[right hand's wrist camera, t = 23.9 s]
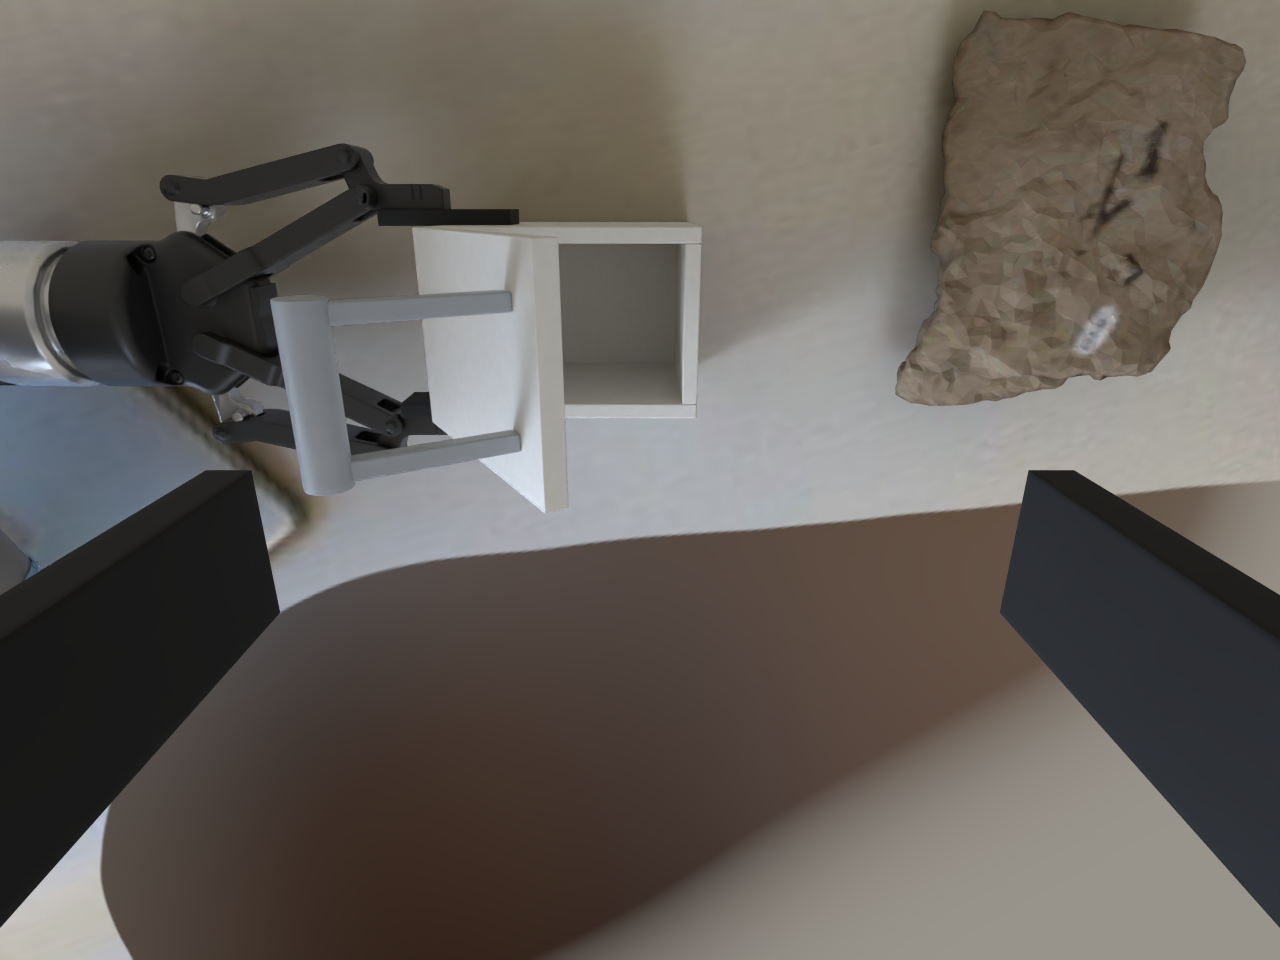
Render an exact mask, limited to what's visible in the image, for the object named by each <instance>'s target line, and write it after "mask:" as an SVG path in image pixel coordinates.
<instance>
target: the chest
mask: <svg viewBox="0 0 1280 960" xmlns="http://www.w3.org/2000/svg"><path fill="white" fill-rule="evenodd" d="M429 227H439V228H452V229H464V230H477V231H490V232H502V233H515V234H527V235H540V236H553V237H558V247H559V273H560V299H561V325H562V351H563V378H564V404H565V418H696V417H697V385H698V350H699V315H700V280H701V246H702V245H701V244H700V243H701V242H702V227H700V226H697V225H695V224H692V223H689V222H519V224H516V225H439V226H429Z"/></svg>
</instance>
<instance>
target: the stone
mask: <svg viewBox="0 0 1280 960" xmlns="http://www.w3.org/2000/svg"><path fill="white" fill-rule="evenodd" d="M1245 63H1246V60H1245V56H1244V52H1243V49H1242V48H1240V47H1239V46H1237V45H1236V44H1230V43H1227V42H1225V41H1223V40H1220V39H1218V38H1215V37H1210V36H1206V35H1202V34H1197V33H1192V32H1187V31H1182V30H1177V29H1167V30H1159V29H1154V28H1149V27H1144V26H1137V25H1124V26H1123V25H1119V24H1115V23H1111V22H1107V21H1104V20H1099V19H1094V18H1089V17H1084V16H1080V15H1077V14H1073V13H1070V12H1068V13H1065V14H1063V15H1061V16H1059V17H1057V18H1054V19H1046V18H1030V19H1002V18H1001V17H1000V16H999V15H998V14H997V13H995V12H990V11H984V12H983V13H982V15H981V17H980V19H979V20H978V23H977V25H976V27H975V29H974V30H973V31H972V32H971V33H970V34H969V35H968V36H967V37H966V38H965V39H964V40H963V41H962V43H961V45H960V46H959V50H958V53H957V55H956V57H955V60H954V66H953V81H952V83H953V92H954V96H955V105H954V106H953V107H952V109H951V110H950V112H949V115H948V120H947V123H946V126H945V128H944V131H943V134H942V151H943V155H944V158H945V164H944V186H945V189H946V191H945V193H944V195H943V197H942V199H941V215H940V217H939V219H938V222H937V226H936V229H935V231H934V234H933V236H932V238H931V251H932V252H933V253H935V254H936V255H938V256H939V257H940V260H941V263H942V264H941V266H940V268H939V270H938V285H937V288H936V293H937V295H938V300H937V301H936V303H935V309H934V312H933V313H932V315H931V316H930V317H929V318H928V319H926V320H924V321H923V324H922V326H921V328H920V331H919V333H918V336H917V343H916V346H915V348H914V349H913V350H912V351H911V352H910V353H909V355H908V356H907V358H906V361H905V362H902V363H901V365H900V367H899V368H898V372H897V385H896V395H897V396H899V397H901V398H903V399H905V400H906V401H908V402H910V403H919V404H924V405H929V406H944V405H964V404H971V403H976V402H979V401H982V400H991V401H998V400H1001V399H1004V398H1012V397H1015V396H1017V395H1020V394H1022V393H1025V392H1030V391H1037V390H1041V389H1055V388H1057V387H1059V386H1061V385H1063V383H1064V382H1065V381H1066V380H1067V378H1069V377H1075V376H1081V375H1090V376H1091V377H1092V378H1093V379H1096V380H1102V379H1104V378H1106V377H1115V376H1141V375H1144V374H1147V373H1149V372H1151V371H1152V370H1153V369H1154V368H1155V367H1156V365H1157V364H1158V363H1159V362H1160V361H1161V360H1162V359H1163V357H1164V356H1165V355H1166V354H1167V353H1168V352H1169V350H1170V344H1169V339H1170V334H1171V330H1172V329H1173V327H1174V326H1175V324H1176V323H1177V321H1178V320H1179V318H1180V317H1181V316H1182V315H1183V314H1184V313H1185V312H1186V311H1187V310H1189V309H1190V308H1191V305H1192V301H1193V299H1194V298H1195V296H1196V295H1197V294H1198V292H1199V291H1200V289H1201V288H1202V286H1203V284H1204V282H1205V280H1206V278H1207V275H1208V273H1209V271H1210V268H1211V265H1212V263H1213V260H1214V257H1215V255H1216V252H1217V248H1218V245H1219V242H1220V238H1221V235H1222V234H1221V224H1222V214H1223V213H1222V206H1221V203H1220V201H1219V199H1218V197H1217V196H1216V195H1215V194H1213V193H1212V191H1211V190H1210V188H1209V186H1208V185H1207V181H1206V178H1205V170H1206V163H1205V159H1204V155H1203V145H1204V141H1205V139H1206V138H1207V137H1208V135H1209V134H1210V133H1211V131H1212V130H1213V129H1215V128H1216V127H1218V126H1219V125H1221V124H1223V123H1224V122H1225V121H1226V120H1227V119H1228V104H1229V99H1230V95H1231V93H1232V90H1233V88H1234V85H1235V82H1236V79H1237V78H1238V77H1239V75H1240V74H1241V72H1242V71H1243V69H1244V66H1245Z"/></svg>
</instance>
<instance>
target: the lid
mask: <svg viewBox="0 0 1280 960" xmlns="http://www.w3.org/2000/svg"><path fill="white" fill-rule="evenodd" d="M412 233H413V243H414V252H415V261H416V271H417V280H418V290H419V295H405V296H388V297H371V298H355V299H338V300H328V299H327V297H326V296H323V295H290V296H280V297H275V298H272V299H270V304H271V309H272V315H273V320H274V326H275V332H276V337H277V343H278V349H279V354H280V360H281V365H282V371H283V377H284V382H285V388H286V394H287V399H288V405H289V410H290V416H291V422H292V427H293V433H294V439H295V444H296V450H297V455H298V461H299V467H300V472H301V478H302V484H303V489H304V491H305V492H306V493H307V494H310V495H317V496H325V495H333V494H338V493H342V492H345V491H347V490H349V489H351V488H352V487H353V486H354V485H355V481H359V480H365V479H370V478H376V477H382V476H387V475H393V474H399V473H404V472H410V471H415V470H421V469H427V468H432V467H438V466H443V465H449V464H455V463H460V462H466V461H472V460H477V459H479V460H480V461H481V462H482V463H484V464H485V465H486V466H487V467H489V468H490V469H491V470H492V471H493V472H495V473H496V474H497V475H498V476H500V477H501V478H502V479H503V480H504V481H506V482H507V483H508V484H509V485H511V486H512V487H513V488H514V489H516V490H517V491H518V492H519V493H520V494H522V495H523V496H524V497H525V498H527V499H528V500H529V501H530V502H532V503H533V504H534V505H535V506H536V507H538V508H539V509H540V510H541V511H543V512H544V513H550V512H554V511H558V510H563V509H567V508H568V482H567V456H566V430H565V404H564V378H563V351H562V325H561V299H560V273H559V247H558V237H553V236H540V235H527V234H515V233H502V232H490V231H477V230H464V229H452V228H439V227H412ZM421 319H422V328H423V337H424V346H425V356H426V365H427V375H428V384H429V394H430V403H431V413H432V422H433V423H434V424H436V425H437V426H438V427H439V428H441V429H442V430H443V431H444V432H446V433H447V434H448V435H449V436H450V437H452V438H453V439H451V440H444V441H438V442H432V443H426V444H419V445H413V446H407V447H401V448H395V449H388V450H382V451H376V452H370V453H364V454H357V455H351V452H350V446H349V439H348V432H347V426H346V419H345V412H344V406H343V399H342V392H341V386H340V379H339V372H338V366H337V359H336V352H335V346H334V339H333V332H332V326H343V325H356V324H369V323H382V322H395V321H408V320H421Z"/></svg>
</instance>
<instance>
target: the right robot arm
mask: <svg viewBox="0 0 1280 960" xmlns="http://www.w3.org/2000/svg"><path fill="white" fill-rule="evenodd" d="M279 613H280V610H279V605H278V600H277V595H276V590H275V585H274V580H273V575H272V570H271V565H270V560H269V555H268V550H267V545H266V540H265V535H264V531H263V526H262V521H261V516H260V511H259V506H258V501H257V496H256V491H255V486H254V481H253V476H252V471H251V470H206V471H204V472H202V473H201V474H199V475H198V476H196V477H194V478H193V479H191V480H189V481H188V482H186V483H184V484H183V485H181V486H179V487H178V488H176V489H174V490H173V491H171V492H169V493H168V494H166V495H165V496H163V497H161V498H160V499H158V500H156V501H155V502H153V503H151V504H150V505H148V506H146V507H145V508H143V509H141V510H140V511H138V512H136V513H135V514H133V515H132V516H130V517H128V518H127V519H125V520H123V521H122V522H120V523H118V524H117V525H115V526H113V527H112V528H110V529H108V530H107V531H105V532H103V533H102V534H100V535H99V536H97V537H95V538H94V539H92V540H90V541H89V542H87V543H85V544H84V545H82V546H80V547H79V548H77V549H75V550H74V551H72V552H70V553H69V554H67V555H66V556H64V557H62V558H61V559H59V560H57V561H56V562H54V563H52V564H51V565H49V566H47V567H46V568H44V569H42V570H41V571H39V572H37V573H36V574H34V575H33V576H31V577H29V578H28V579H26V580H24V581H23V582H21V583H19V584H18V585H16V586H14V587H13V588H11V589H9V590H8V591H6V592H5V593H3V594H1V595H0V927H1V926H2V925H3V924H4V923H5V922H6V921H7V919H8V918H9V917H10V916H11V915H12V914H13V913H14V912H15V910H16V909H17V908H18V907H19V906H20V905H21V904H22V903H23V901H24V900H25V899H26V898H27V897H28V896H29V895H30V894H31V892H32V891H33V890H34V889H35V888H36V887H37V886H38V885H39V883H40V882H41V881H42V880H43V879H44V878H45V877H46V876H47V874H48V873H49V872H50V871H51V870H52V869H53V868H54V867H55V865H56V864H57V863H58V862H59V861H60V860H61V859H62V858H63V856H64V855H65V854H66V853H67V852H68V851H69V850H70V849H71V847H72V846H73V845H74V844H75V843H76V842H77V841H78V840H79V838H80V837H81V836H82V835H83V834H84V833H85V832H86V831H87V829H88V828H89V827H90V826H91V825H92V824H93V823H94V822H95V820H96V819H97V818H98V817H99V816H100V815H101V814H102V813H103V811H104V810H105V809H106V808H107V807H108V806H109V805H110V803H111V802H112V801H113V800H114V799H115V798H116V797H117V796H118V794H119V793H120V792H121V791H122V790H123V789H124V788H125V787H126V785H127V784H128V783H129V782H130V781H131V780H132V779H133V778H134V776H135V775H136V774H137V773H138V772H139V771H140V770H141V769H142V767H143V766H144V765H145V764H146V763H147V762H148V761H149V760H150V758H151V757H152V756H153V755H154V754H155V753H156V752H157V751H158V749H159V748H160V747H161V746H162V745H163V744H164V743H165V742H166V740H167V739H168V738H169V737H170V736H171V735H172V734H173V733H174V731H175V730H176V729H177V728H178V727H179V726H180V725H181V724H182V722H183V721H184V720H185V719H186V718H187V717H188V716H189V715H190V713H191V712H192V711H193V710H194V709H195V708H196V707H197V706H198V704H199V703H200V702H201V701H202V700H203V699H204V698H205V697H206V695H207V694H208V693H209V692H210V691H211V690H212V689H213V688H214V686H215V685H216V684H217V683H218V682H219V681H220V680H221V679H222V677H223V676H224V675H225V674H226V673H227V672H228V671H229V669H230V668H231V667H232V666H233V665H234V664H235V663H236V662H237V660H238V659H239V658H240V657H241V656H242V655H243V654H244V653H245V651H246V650H247V649H248V648H249V647H250V646H251V645H252V644H253V642H254V641H255V640H256V639H257V638H258V637H259V636H260V635H261V633H262V632H263V631H264V630H265V629H266V628H267V627H268V626H269V624H270V623H271V622H272V621H273V620H274V619H275V618H276V617H277V615H278V614H279ZM1000 613H1001V614H1002V615H1003V617H1004V618H1005V619H1006V620H1007V621H1008V622H1009V623H1010V624H1011V626H1012V627H1013V628H1014V629H1015V630H1016V631H1017V632H1018V633H1019V635H1020V636H1021V637H1022V638H1023V639H1024V640H1025V641H1026V642H1027V644H1028V645H1029V646H1030V647H1031V648H1032V649H1033V650H1034V651H1035V653H1036V654H1037V655H1038V656H1039V657H1040V658H1041V659H1042V660H1043V662H1044V663H1045V664H1046V665H1047V666H1048V667H1049V668H1050V669H1051V671H1052V672H1053V673H1054V674H1055V675H1056V676H1057V677H1058V679H1059V680H1060V681H1061V682H1062V683H1063V684H1064V685H1065V686H1066V688H1067V689H1068V690H1069V691H1070V692H1071V693H1072V694H1073V695H1074V697H1075V698H1076V699H1077V700H1078V701H1079V702H1080V703H1081V704H1082V706H1083V707H1084V708H1085V709H1086V710H1087V711H1088V712H1089V713H1090V715H1091V716H1092V717H1093V718H1094V719H1095V720H1096V721H1097V722H1098V724H1099V725H1100V726H1101V727H1102V728H1103V729H1104V730H1105V731H1106V733H1107V734H1108V735H1109V736H1110V737H1111V738H1112V739H1113V740H1114V742H1115V743H1116V744H1117V745H1118V746H1119V747H1120V748H1121V749H1122V751H1123V752H1124V753H1125V754H1126V755H1127V756H1128V757H1129V758H1130V760H1131V761H1132V762H1133V763H1134V764H1135V765H1136V766H1137V767H1138V769H1139V770H1140V771H1141V772H1142V773H1143V774H1144V775H1145V776H1146V778H1147V779H1148V780H1149V781H1150V782H1151V783H1152V784H1153V785H1154V787H1155V788H1156V789H1157V790H1158V791H1159V792H1160V793H1161V794H1162V796H1163V797H1164V798H1165V799H1166V800H1167V801H1168V802H1169V803H1170V805H1171V806H1172V807H1173V808H1174V809H1175V810H1176V811H1177V812H1178V814H1179V815H1180V816H1181V817H1182V818H1183V819H1184V820H1185V822H1186V823H1187V824H1188V825H1189V826H1190V827H1191V828H1192V829H1193V830H1194V832H1195V833H1196V834H1197V835H1198V836H1199V837H1200V838H1201V839H1202V841H1203V842H1204V843H1205V844H1206V845H1207V846H1208V847H1209V849H1210V850H1211V851H1212V852H1213V853H1214V854H1215V855H1216V856H1217V858H1218V859H1219V860H1220V861H1221V862H1222V863H1223V864H1224V865H1225V866H1226V868H1227V869H1228V870H1229V871H1230V872H1231V873H1232V874H1233V876H1234V877H1235V878H1236V879H1237V880H1238V881H1239V882H1240V883H1241V885H1242V886H1243V887H1244V888H1245V889H1246V890H1247V891H1248V892H1249V894H1250V895H1251V896H1252V897H1253V898H1254V899H1255V900H1256V901H1257V903H1258V904H1259V905H1260V906H1261V907H1262V908H1263V909H1264V910H1265V912H1266V913H1267V914H1268V915H1269V916H1270V917H1271V918H1272V919H1273V921H1274V922H1275V923H1276V924H1277V925H1278V926H1279V927H1280V595H1279V594H1277V593H1275V592H1274V591H1272V590H1271V589H1269V588H1267V587H1266V586H1264V585H1262V584H1261V583H1259V582H1257V581H1256V580H1254V579H1252V578H1251V577H1249V576H1247V575H1246V574H1244V573H1242V572H1241V571H1239V570H1238V569H1236V568H1234V567H1233V566H1231V565H1229V564H1228V563H1226V562H1224V561H1223V560H1221V559H1219V558H1218V557H1216V556H1214V555H1213V554H1211V553H1210V552H1208V551H1206V550H1205V549H1203V548H1201V547H1200V546H1198V545H1196V544H1195V543H1193V542H1191V541H1190V540H1188V539H1186V538H1185V537H1183V536H1181V535H1180V534H1178V533H1177V532H1175V531H1173V530H1172V529H1170V528H1168V527H1167V526H1165V525H1163V524H1162V523H1160V522H1158V521H1157V520H1155V519H1153V518H1152V517H1150V516H1148V515H1147V514H1145V513H1144V512H1142V511H1140V510H1139V509H1137V508H1135V507H1134V506H1132V505H1130V504H1129V503H1127V502H1125V501H1124V500H1122V499H1120V498H1119V497H1117V496H1115V495H1114V494H1112V493H1111V492H1109V491H1107V490H1106V489H1104V488H1102V487H1101V486H1099V485H1097V484H1096V483H1094V482H1092V481H1091V480H1089V479H1087V478H1086V477H1084V476H1082V475H1081V474H1079V473H1078V472H1076V471H1074V470H1029V471H1028V476H1027V481H1026V486H1025V491H1024V496H1023V501H1022V506H1021V511H1020V516H1019V521H1018V526H1017V531H1016V535H1015V540H1014V545H1013V550H1012V555H1011V560H1010V565H1009V570H1008V575H1007V580H1006V585H1005V590H1004V595H1003V600H1002V605H1001V610H1000Z"/></svg>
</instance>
